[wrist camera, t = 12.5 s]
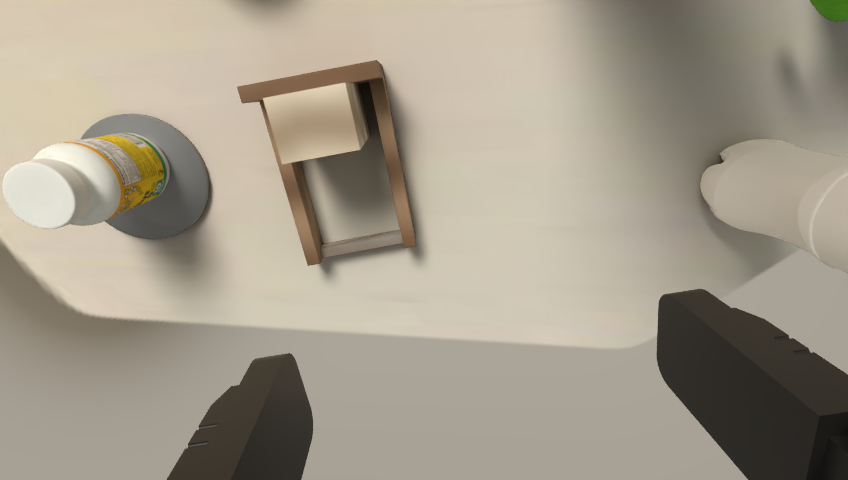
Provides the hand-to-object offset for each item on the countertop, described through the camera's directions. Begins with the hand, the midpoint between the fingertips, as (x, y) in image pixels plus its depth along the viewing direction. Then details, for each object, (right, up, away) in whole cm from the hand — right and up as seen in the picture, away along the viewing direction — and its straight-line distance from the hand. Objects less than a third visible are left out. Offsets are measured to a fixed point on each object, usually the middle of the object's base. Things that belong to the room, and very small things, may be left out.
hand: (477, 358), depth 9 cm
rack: (-8, +9, +26) cm, 28 cm away
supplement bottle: (-24, +8, +25) cm, 35 cm away
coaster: (-24, +8, +25) cm, 35 cm away
